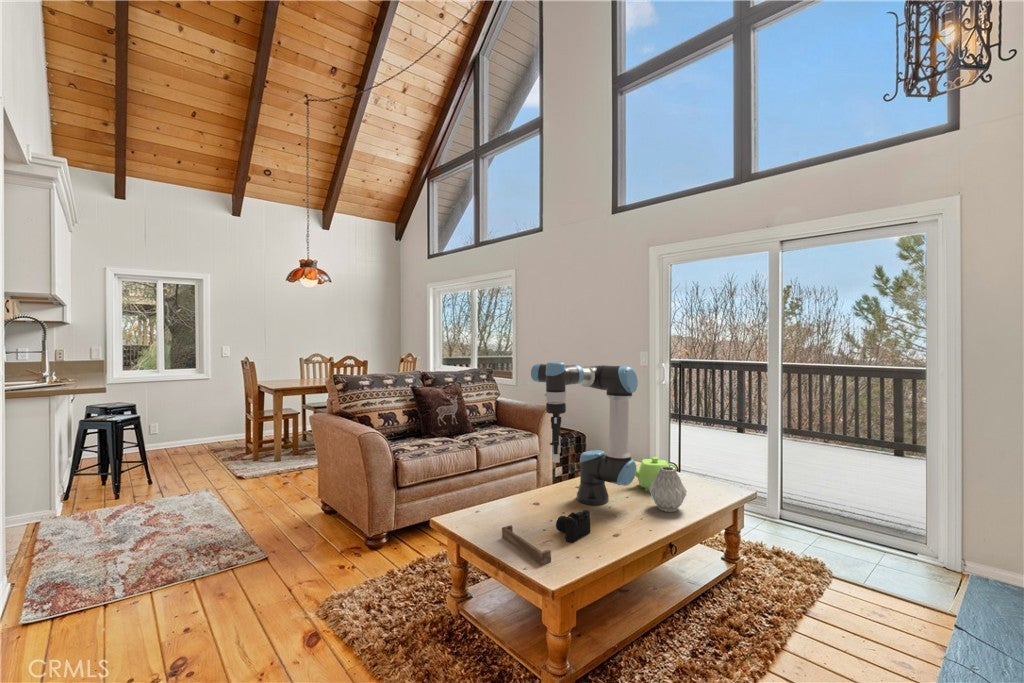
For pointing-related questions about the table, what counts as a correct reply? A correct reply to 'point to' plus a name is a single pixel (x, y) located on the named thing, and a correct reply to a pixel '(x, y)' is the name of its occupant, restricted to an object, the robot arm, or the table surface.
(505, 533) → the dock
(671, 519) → the table surface
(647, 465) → the teapot
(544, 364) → the robot arm
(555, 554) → the table surface
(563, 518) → the camera
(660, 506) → the vase
